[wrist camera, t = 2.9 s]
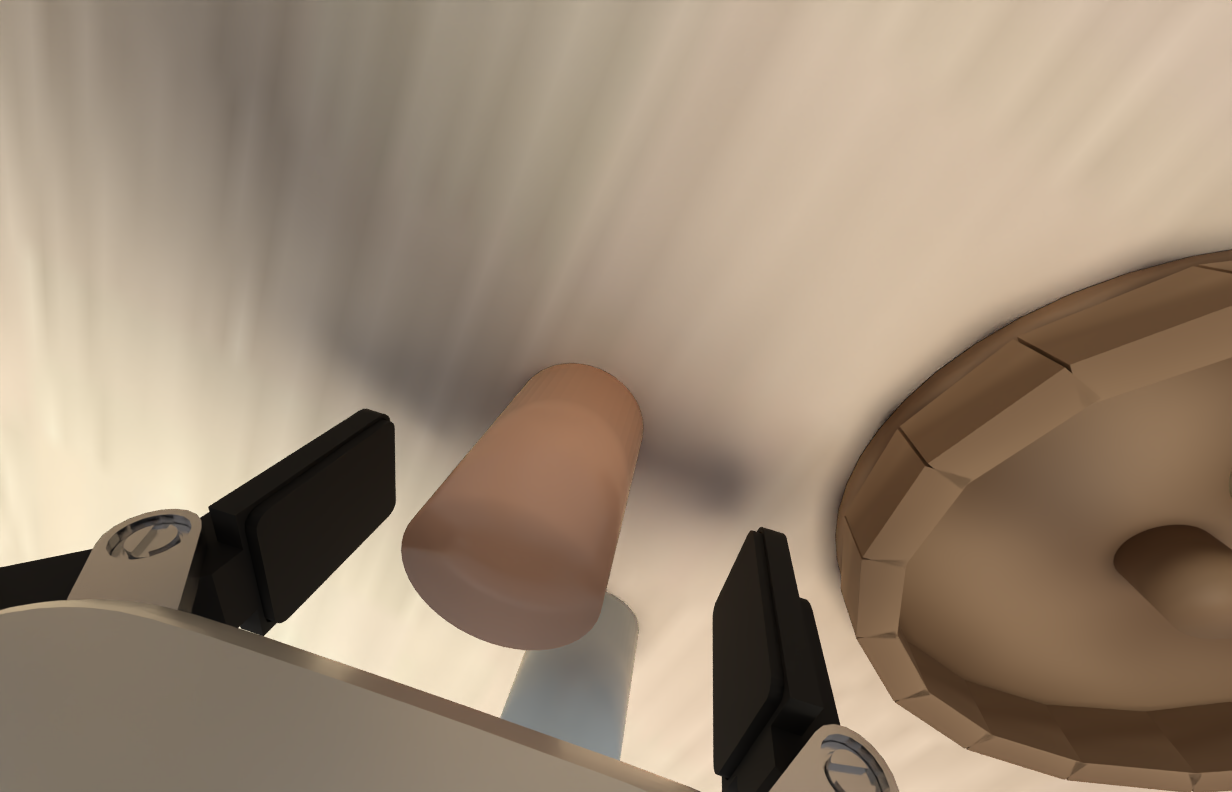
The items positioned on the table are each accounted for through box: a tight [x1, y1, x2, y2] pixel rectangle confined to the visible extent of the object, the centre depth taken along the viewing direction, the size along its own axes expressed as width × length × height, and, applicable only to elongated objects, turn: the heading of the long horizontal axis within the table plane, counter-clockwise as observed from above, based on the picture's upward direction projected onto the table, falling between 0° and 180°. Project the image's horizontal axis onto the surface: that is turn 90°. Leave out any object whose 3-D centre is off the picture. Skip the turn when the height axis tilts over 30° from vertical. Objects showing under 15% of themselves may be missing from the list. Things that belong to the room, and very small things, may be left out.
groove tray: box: [836, 250, 1232, 792], centre depth 11 cm, size 15×15×2 cm
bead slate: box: [500, 592, 639, 761], centre depth 15 cm, size 4×4×6 cm
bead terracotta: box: [401, 363, 643, 650], centre depth 11 cm, size 4×4×6 cm
